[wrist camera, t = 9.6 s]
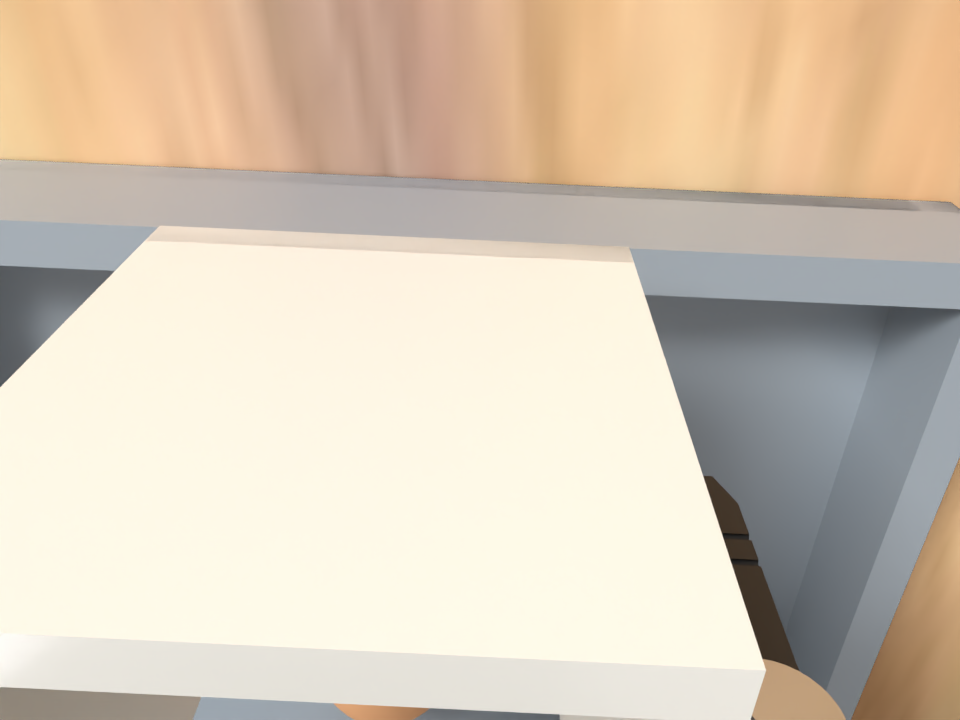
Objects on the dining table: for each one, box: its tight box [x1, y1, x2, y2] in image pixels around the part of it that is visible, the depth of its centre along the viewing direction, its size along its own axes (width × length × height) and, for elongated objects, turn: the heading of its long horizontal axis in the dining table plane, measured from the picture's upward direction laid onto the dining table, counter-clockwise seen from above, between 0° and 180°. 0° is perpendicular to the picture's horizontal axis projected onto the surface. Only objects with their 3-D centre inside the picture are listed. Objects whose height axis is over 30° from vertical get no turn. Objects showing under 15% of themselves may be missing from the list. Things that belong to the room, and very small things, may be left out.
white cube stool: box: [0, 226, 766, 720], centre depth 9 cm, size 6×6×6 cm
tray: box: [0, 159, 960, 720], centre depth 18 cm, size 20×14×3 cm
